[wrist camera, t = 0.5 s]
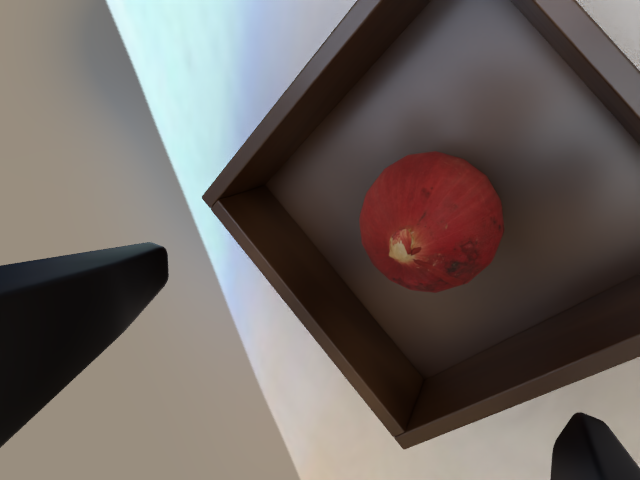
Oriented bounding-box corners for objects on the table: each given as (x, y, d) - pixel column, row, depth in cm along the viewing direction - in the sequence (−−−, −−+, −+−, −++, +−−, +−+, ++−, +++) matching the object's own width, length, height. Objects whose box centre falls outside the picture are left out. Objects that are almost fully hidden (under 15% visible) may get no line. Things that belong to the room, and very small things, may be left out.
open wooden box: (749, 233, 16) (831, 282, 12) (425, 389, 25) (403, 450, 20) (476, -71, 17) (458, -130, 13) (255, 181, 26) (200, 197, 21)
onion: (536, 198, 19) (541, 255, 12) (450, 279, 21) (414, 363, 15) (437, 120, 19) (388, 130, 13) (367, 208, 22) (296, 255, 16)
